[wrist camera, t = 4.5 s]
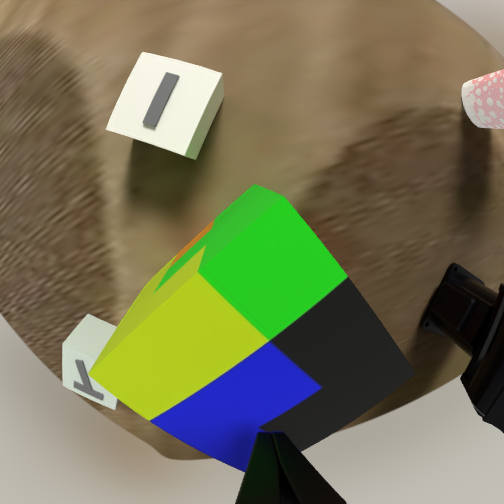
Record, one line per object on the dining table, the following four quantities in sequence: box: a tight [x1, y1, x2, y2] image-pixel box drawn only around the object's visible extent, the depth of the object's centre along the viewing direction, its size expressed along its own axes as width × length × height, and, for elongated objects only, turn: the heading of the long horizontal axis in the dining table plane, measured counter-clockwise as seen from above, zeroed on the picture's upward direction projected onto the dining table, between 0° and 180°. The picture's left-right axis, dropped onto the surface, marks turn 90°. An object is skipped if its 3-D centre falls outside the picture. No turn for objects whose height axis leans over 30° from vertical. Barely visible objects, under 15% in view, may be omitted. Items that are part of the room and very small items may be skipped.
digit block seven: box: [62, 314, 119, 410], centre depth 18 cm, size 4×4×5 cm
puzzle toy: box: [88, 184, 415, 472], centre depth 15 cm, size 10×10×10 cm
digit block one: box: [106, 52, 224, 160], centre depth 14 cm, size 4×4×5 cm
